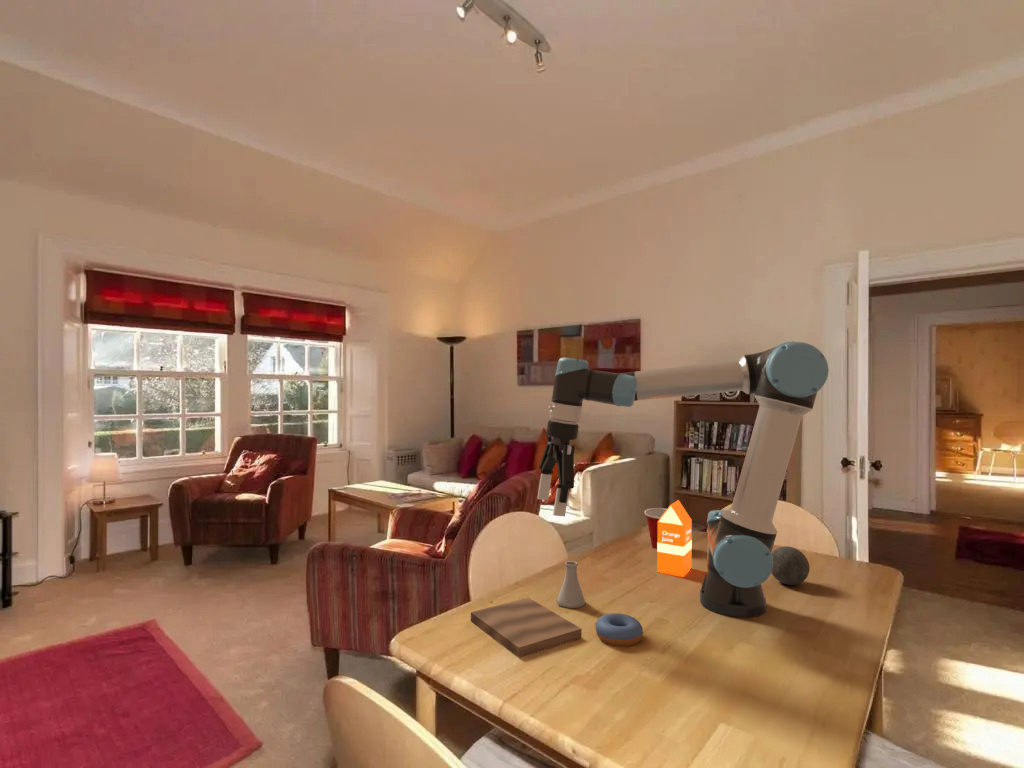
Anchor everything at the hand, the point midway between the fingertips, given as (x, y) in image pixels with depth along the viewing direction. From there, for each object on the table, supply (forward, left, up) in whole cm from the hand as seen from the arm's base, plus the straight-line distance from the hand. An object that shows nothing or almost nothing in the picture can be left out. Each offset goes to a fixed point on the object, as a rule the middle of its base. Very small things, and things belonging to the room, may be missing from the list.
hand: (550, 507), depth 134 cm
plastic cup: (+20, -61, -24) cm, 68 cm away
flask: (-1, -6, -24) cm, 25 cm away
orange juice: (+2, -47, -24) cm, 53 cm away
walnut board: (-7, +12, -24) cm, 28 cm away
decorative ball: (-22, -65, -24) cm, 73 cm away
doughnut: (-21, -3, -25) cm, 33 cm away
